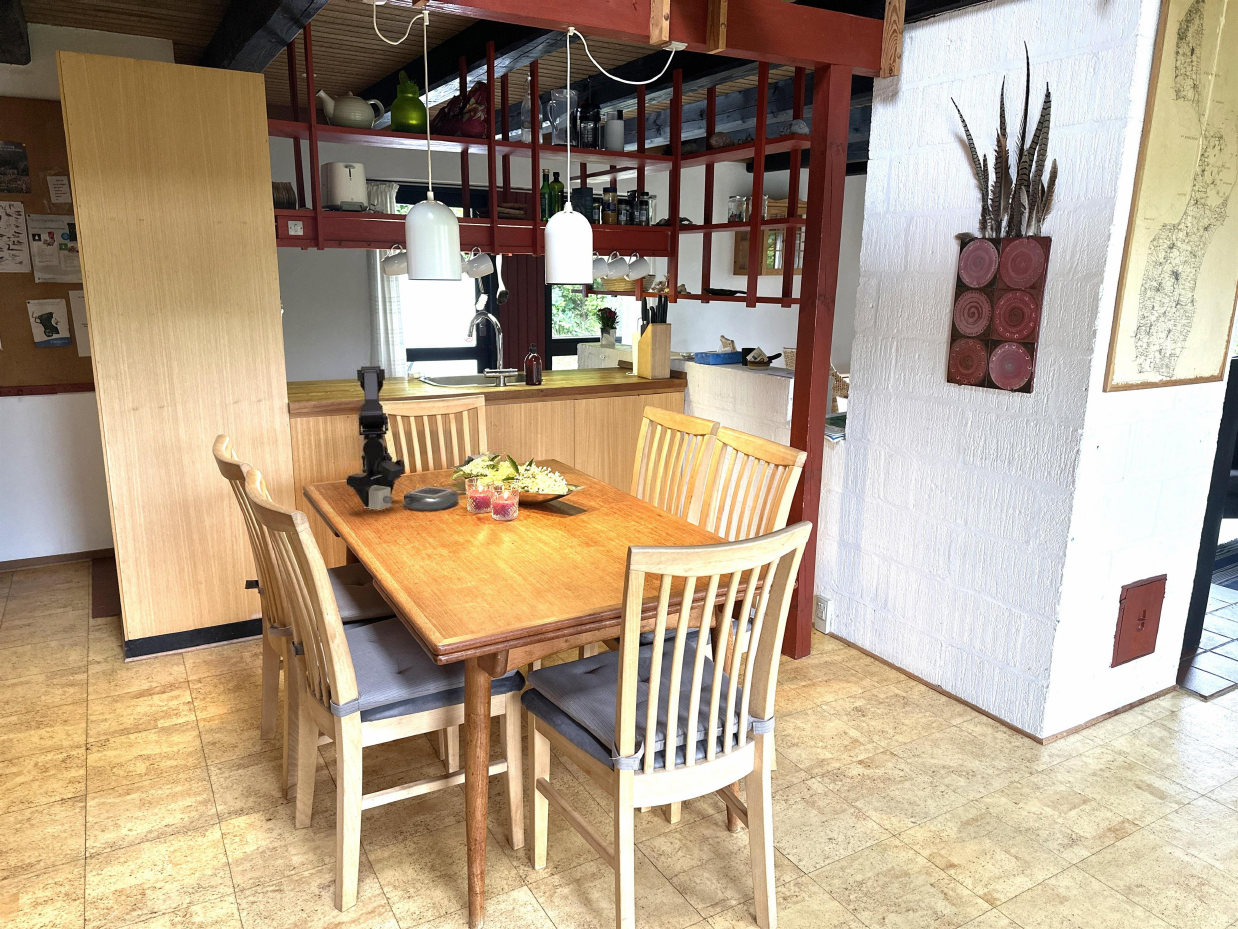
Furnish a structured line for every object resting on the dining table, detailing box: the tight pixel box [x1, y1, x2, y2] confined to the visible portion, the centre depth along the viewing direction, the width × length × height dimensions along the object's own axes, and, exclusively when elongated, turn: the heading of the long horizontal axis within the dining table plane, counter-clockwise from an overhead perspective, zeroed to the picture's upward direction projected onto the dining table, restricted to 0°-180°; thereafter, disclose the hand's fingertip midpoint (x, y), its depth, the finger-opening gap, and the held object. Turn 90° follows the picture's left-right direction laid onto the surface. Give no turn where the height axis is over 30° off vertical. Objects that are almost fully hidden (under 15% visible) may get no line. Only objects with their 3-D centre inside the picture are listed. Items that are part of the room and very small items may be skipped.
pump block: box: [363, 485, 394, 511], centre depth 251 cm, size 8×5×6 cm, turn 64°
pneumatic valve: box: [463, 452, 498, 467], centre depth 272 cm, size 6×12×12 cm, turn 117°
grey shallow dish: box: [403, 486, 459, 512], centre depth 256 cm, size 16×16×4 cm
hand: (377, 503), depth 252 cm, fingers open, 9 cm apart
